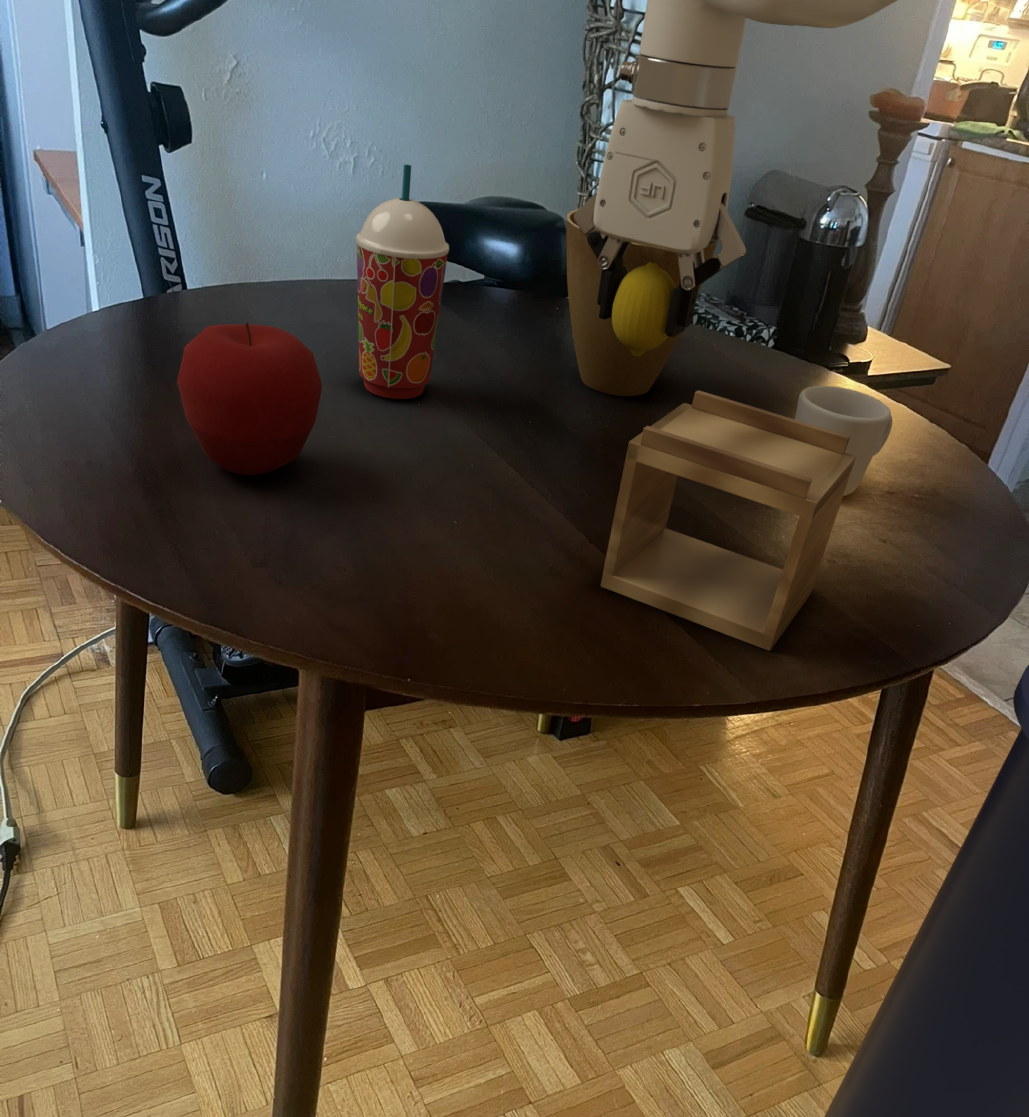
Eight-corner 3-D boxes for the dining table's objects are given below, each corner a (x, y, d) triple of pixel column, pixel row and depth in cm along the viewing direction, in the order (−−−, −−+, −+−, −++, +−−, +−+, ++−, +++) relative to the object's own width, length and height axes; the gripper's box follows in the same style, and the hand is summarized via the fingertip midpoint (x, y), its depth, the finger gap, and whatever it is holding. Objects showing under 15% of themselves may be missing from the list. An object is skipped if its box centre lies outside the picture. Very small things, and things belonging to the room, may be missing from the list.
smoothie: (352, 370, 107) (361, 150, 95) (436, 378, 108) (454, 162, 96) (348, 401, 100) (356, 168, 88) (437, 409, 101) (457, 180, 89)
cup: (839, 459, 103) (865, 379, 99) (901, 494, 98) (932, 411, 94) (758, 472, 98) (781, 388, 94) (819, 510, 93) (847, 423, 88)
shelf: (810, 594, 80) (861, 439, 73) (769, 651, 73) (822, 485, 66) (653, 538, 85) (687, 386, 78) (599, 586, 77) (632, 424, 70)
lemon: (598, 344, 96) (612, 251, 91) (656, 347, 97) (673, 255, 92) (615, 365, 91) (631, 268, 87) (676, 368, 93) (694, 272, 88)
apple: (252, 510, 80) (250, 357, 73) (151, 465, 84) (140, 315, 77) (347, 468, 88) (352, 326, 81) (250, 429, 92) (248, 290, 85)
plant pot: (570, 349, 120) (594, 198, 111) (696, 381, 117) (732, 227, 108) (523, 387, 109) (545, 220, 100) (662, 423, 105) (699, 255, 96)
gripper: (562, 72, 83) (534, 310, 93) (774, 109, 77) (719, 359, 87) (603, 70, 88) (573, 294, 98) (803, 104, 82) (749, 339, 92)
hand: (642, 322), depth 93 cm, fingers closed on lemon, 5 cm apart
